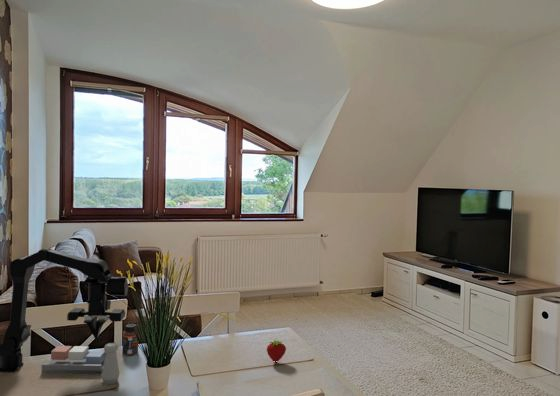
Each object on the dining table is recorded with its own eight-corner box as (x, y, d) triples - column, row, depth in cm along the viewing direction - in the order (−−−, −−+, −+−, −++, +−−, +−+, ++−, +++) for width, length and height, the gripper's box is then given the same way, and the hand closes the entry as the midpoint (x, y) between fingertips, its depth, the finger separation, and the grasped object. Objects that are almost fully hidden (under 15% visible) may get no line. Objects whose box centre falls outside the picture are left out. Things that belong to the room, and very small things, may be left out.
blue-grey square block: (85, 364, 152) (85, 356, 152) (90, 358, 157) (91, 350, 157) (99, 365, 152) (100, 356, 152) (104, 359, 157) (105, 351, 157)
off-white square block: (68, 359, 151) (68, 351, 151) (74, 354, 156) (74, 346, 156) (82, 360, 152) (82, 351, 152) (88, 354, 157) (88, 346, 157)
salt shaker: (112, 387, 141) (113, 348, 140) (97, 384, 142) (98, 346, 141) (122, 379, 146) (123, 342, 146) (107, 376, 148) (108, 340, 147)
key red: (51, 359, 151) (51, 351, 151) (57, 353, 156) (57, 345, 156) (65, 359, 151) (65, 351, 151) (71, 354, 156) (71, 346, 156)
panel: (41, 373, 148) (41, 364, 148) (57, 359, 160) (57, 350, 160) (100, 374, 149) (100, 365, 149) (112, 359, 161) (112, 351, 161)
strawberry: (287, 365, 163) (288, 339, 162) (267, 366, 161) (269, 340, 160) (283, 358, 168) (284, 334, 168) (264, 360, 166) (265, 335, 166)
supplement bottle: (133, 357, 164) (134, 328, 163) (119, 355, 165) (119, 327, 164) (140, 351, 170) (141, 323, 169) (127, 349, 171) (127, 322, 170)
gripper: (130, 290, 162) (129, 330, 163) (79, 288, 161) (79, 329, 162) (120, 298, 151) (119, 341, 152) (66, 297, 150) (66, 340, 151)
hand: (96, 338), depth 154 cm, fingers closed
